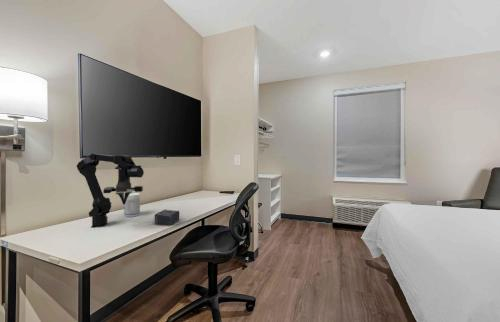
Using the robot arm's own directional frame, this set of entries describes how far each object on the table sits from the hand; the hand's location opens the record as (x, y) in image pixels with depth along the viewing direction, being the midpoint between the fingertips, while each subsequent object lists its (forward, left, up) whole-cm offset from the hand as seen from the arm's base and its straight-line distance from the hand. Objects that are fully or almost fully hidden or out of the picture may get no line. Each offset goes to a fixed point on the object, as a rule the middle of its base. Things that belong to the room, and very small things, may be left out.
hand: (124, 204), depth 117 cm
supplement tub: (0, +25, -13) cm, 28 cm away
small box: (+18, +3, -10) cm, 21 cm away
